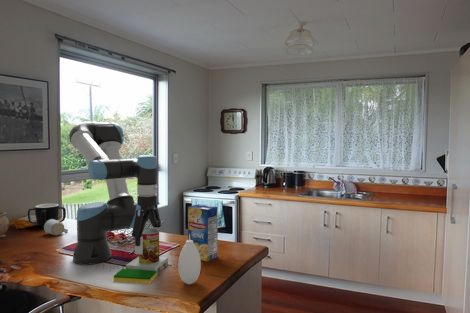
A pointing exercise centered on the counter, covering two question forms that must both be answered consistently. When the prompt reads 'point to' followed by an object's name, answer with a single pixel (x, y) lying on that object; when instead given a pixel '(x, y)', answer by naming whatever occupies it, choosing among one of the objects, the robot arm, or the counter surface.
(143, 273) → the dish sponge
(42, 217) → the mug
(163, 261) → the block
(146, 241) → the canned food
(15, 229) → the counter surface
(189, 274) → the sauce bottle
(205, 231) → the beverage box
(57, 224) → the ceramic mug
